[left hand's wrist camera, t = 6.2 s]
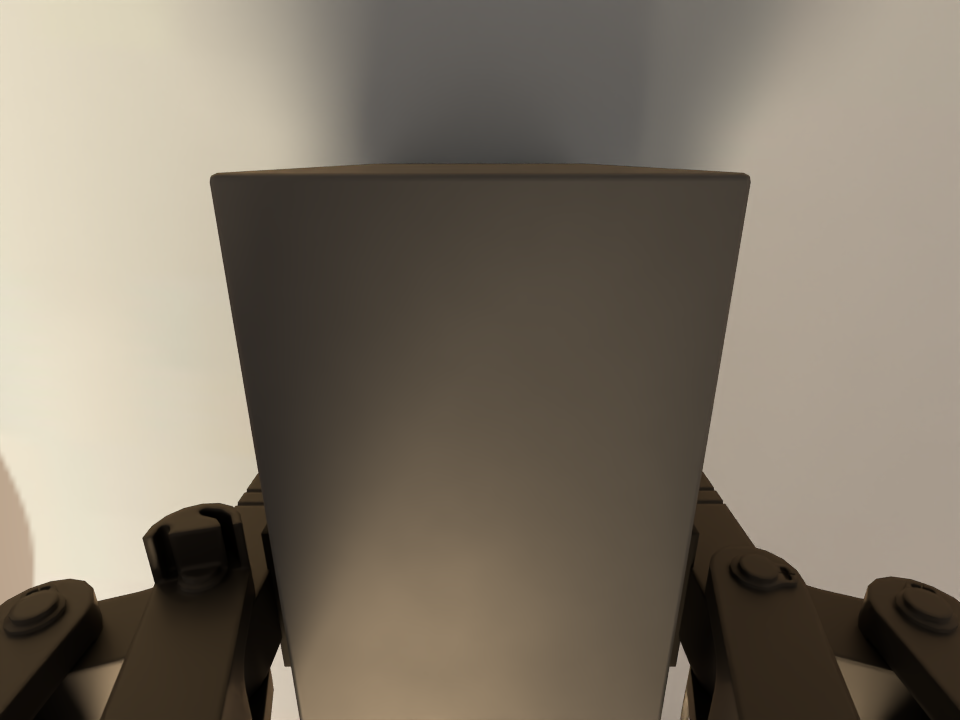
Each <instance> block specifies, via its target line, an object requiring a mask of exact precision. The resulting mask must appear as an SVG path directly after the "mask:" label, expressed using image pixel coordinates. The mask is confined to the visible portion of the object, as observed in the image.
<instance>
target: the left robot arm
mask: <svg viewBox="0 0 960 720" xmlns="http://www.w3.org/2000/svg"><path fill="white" fill-rule="evenodd" d="M143 542H144V545H145V549H146V553H147V556H148V560H149V564H150V567H151V571H152V574H153V578H154V582H155V585H154V587H153V588H150V589H147V590H144V591H140V592H136V593H132V594H127V595H123V596H119V597H114V598H110V599H105V600H101V601H97V599H96V596H95V592H94V589H93V588H92V587H91V586H90V585H89V584H88V583H87V582H85V581H81V580H75V579H65V580H57V581H50V582H48V583H45V584H41V585H39V586H35V587H33V588H30V589H28V590H26V591H24V592H22V593H20V594H18V595H16V596H14V597H12V598H11V599H9V600H7V601H6V602H4V603H3V604H2V605H0V720H271V710H272V701H273V691H274V688H273V681H272V675H271V670H270V667H271V665H272V662H273V660H274V657H275V655H276V652H277V650H278V647H279V645H280V643H281V649H282V654H283V660H284V666H291V663H290V657H289V651H288V645H287V639H286V633H285V627H284V621H283V615H282V609H281V603H280V598H279V592H278V586H277V580H276V574H275V568H274V562H273V556H272V550H271V544H270V538H269V532H268V526H267V520H266V514H265V508H264V502H263V496H262V490H261V484H260V478H259V473H258V474H257V476H256V477H255V478H254V480H253V481H252V483H251V484H250V486H249V487H248V489H247V493H244V494H243V496H242V497H241V499H240V500H239V502H238V506H235V507H233V506H229V505H225V504H221V503H209V504H199V505H195V506H191V507H187V508H183V509H181V510H179V511H177V512H174V513H172V514H170V515H167V516H166V517H164V518H163V519H161V520H160V521H159V522H157V523H156V524H154V525H153V526H152V527H151V528H150V529H149V530H148V532H147V533H146V534H145V535H144V537H143ZM680 641H681V644H682V646H683V649H684V651H685V654H686V656H687V658H688V661H689V663H690V670H689V675H688V680H687V685H686V690H685V696H684V701H683V706H682V712H681V719H680V720H688V718H689V719H690V720H960V602H959V601H958V600H956V599H955V598H953V597H951V596H950V595H948V594H946V593H944V592H942V591H940V590H938V589H936V588H934V587H932V586H929V585H927V584H924V583H921V582H917V581H915V580H912V579H906V578H898V577H885V578H878V579H876V580H874V581H873V582H872V583H871V584H870V585H869V586H868V588H867V591H866V594H865V597H864V599H861V598H856V597H852V596H847V595H843V594H839V593H834V592H830V591H825V590H821V589H818V588H814V587H811V586H808V585H806V584H805V582H804V580H803V579H802V577H801V576H800V574H799V573H798V571H797V570H796V569H795V568H793V567H792V566H791V565H790V564H788V563H787V562H786V561H785V560H783V559H782V558H780V557H778V556H776V555H774V554H772V553H770V552H768V551H766V550H762V549H758V548H756V547H755V546H754V545H753V543H752V542H751V540H750V539H749V537H748V536H747V535H746V533H745V532H744V530H743V529H742V527H741V526H740V524H739V523H738V522H737V520H736V519H735V517H734V516H733V514H732V513H731V512H730V510H729V509H728V507H727V506H726V504H723V500H722V499H721V497H720V496H719V494H718V493H717V491H714V487H713V486H712V484H711V483H710V481H709V480H708V479H707V477H706V476H705V474H704V473H703V472H702V475H701V481H700V487H699V493H698V499H697V505H696V511H695V517H694V523H693V529H692V535H691V541H690V547H689V553H688V559H687V565H686V571H685V576H684V582H683V588H682V594H681V600H680V606H679V612H678V618H677V624H676V630H675V636H674V642H673V648H672V654H671V660H670V666H672V667H676V662H677V656H678V651H679V645H680Z"/></svg>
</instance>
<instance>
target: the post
mask: <svg viewBox="0 0 960 720" xmlns="http://www.w3.org/2000/svg"><path fill="white" fill-rule="evenodd" d="M750 183H751V181H750V176H749V175H747V174H745V173H737V172H720V171H702V170H685V169H667V168H650V167H632V166H615V165H597V164H364V165H347V166H329V167H312V168H295V169H277V170H260V171H243V172H225V173H216V174H214V175H212V176H211V178H210V186H211V192H212V198H213V204H214V210H215V216H216V222H217V228H218V234H219V240H220V246H221V252H222V258H223V264H224V270H225V276H226V282H227V287H228V293H229V299H230V305H231V311H232V317H233V323H234V329H235V335H236V341H237V347H238V353H239V359H240V365H241V371H242V377H243V383H244V389H245V395H246V401H247V407H248V413H249V419H250V425H251V431H252V437H253V443H254V448H255V454H256V460H257V466H258V472H259V478H260V484H261V490H262V496H263V502H264V508H265V514H266V520H267V526H268V532H269V538H270V544H271V550H272V556H273V562H274V568H275V574H276V580H277V586H278V592H279V598H280V603H281V609H282V615H283V621H284V627H285V633H286V639H287V645H288V651H289V657H290V663H291V669H292V675H293V681H294V687H295V693H296V699H297V705H298V711H299V717H300V720H661V714H662V708H663V702H664V696H665V690H666V684H667V678H668V672H669V666H670V660H671V654H672V648H673V642H674V636H675V630H676V624H677V618H678V612H679V606H680V600H681V594H682V588H683V582H684V576H685V571H686V565H687V559H688V553H689V547H690V541H691V535H692V529H693V523H694V517H695V511H696V505H697V499H698V493H699V487H700V481H701V475H702V469H703V463H704V457H705V451H706V445H707V439H708V433H709V427H710V421H711V415H712V409H713V403H714V397H715V391H716V385H717V380H718V374H719V368H720V362H721V356H722V350H723V344H724V338H725V332H726V326H727V320H728V314H729V308H730V302H731V296H732V290H733V284H734V278H735V272H736V266H737V260H738V254H739V248H740V242H741V236H742V230H743V224H744V218H745V212H746V206H747V200H748V195H749V189H750Z"/></svg>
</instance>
